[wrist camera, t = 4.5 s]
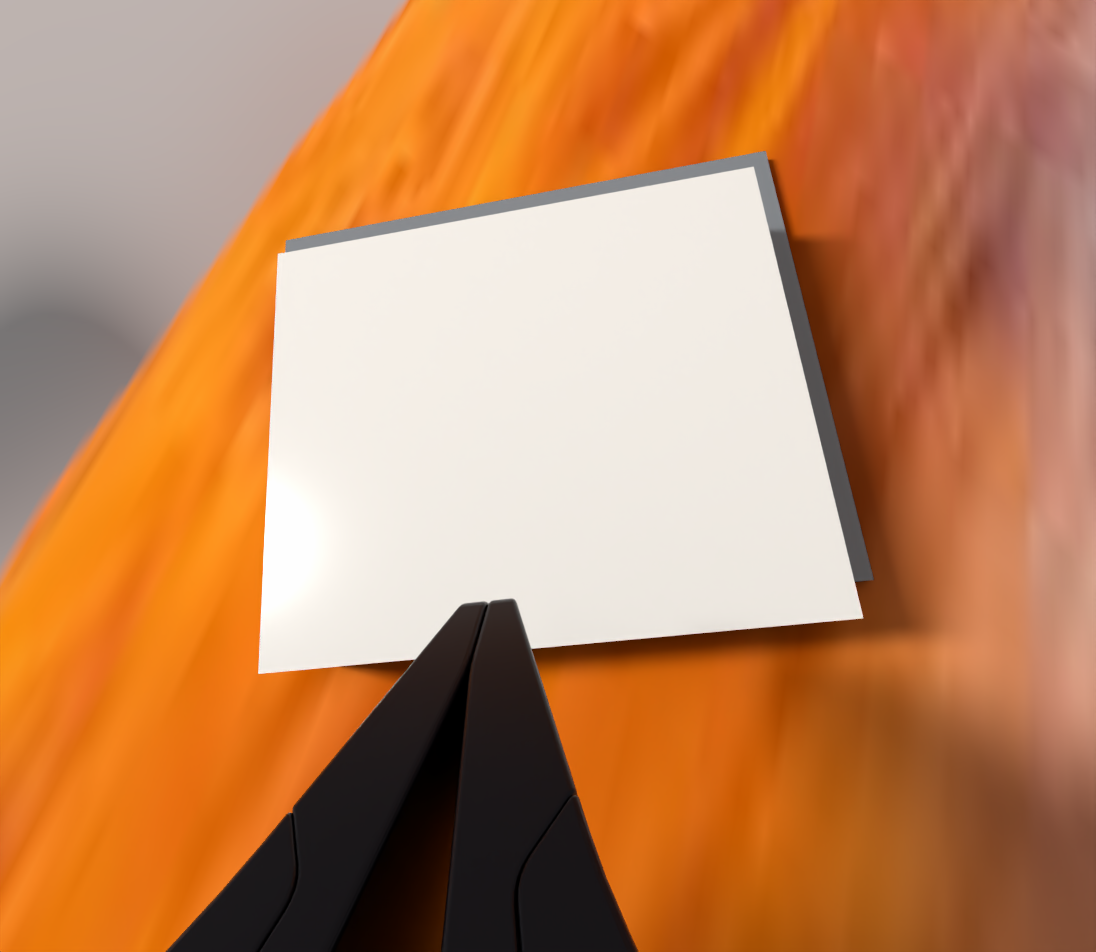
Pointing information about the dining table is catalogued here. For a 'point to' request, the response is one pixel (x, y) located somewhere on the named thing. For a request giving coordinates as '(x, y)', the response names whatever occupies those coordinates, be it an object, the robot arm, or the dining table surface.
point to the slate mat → (787, 274)
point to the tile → (545, 432)
